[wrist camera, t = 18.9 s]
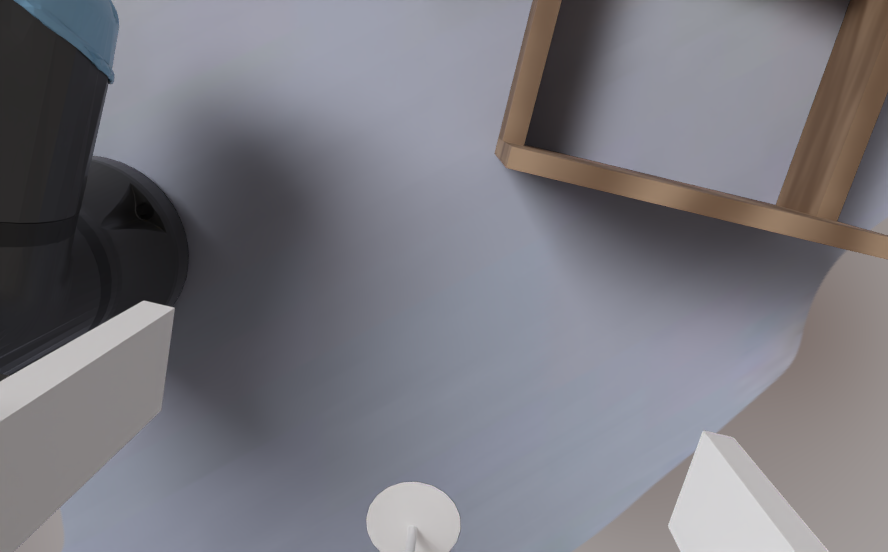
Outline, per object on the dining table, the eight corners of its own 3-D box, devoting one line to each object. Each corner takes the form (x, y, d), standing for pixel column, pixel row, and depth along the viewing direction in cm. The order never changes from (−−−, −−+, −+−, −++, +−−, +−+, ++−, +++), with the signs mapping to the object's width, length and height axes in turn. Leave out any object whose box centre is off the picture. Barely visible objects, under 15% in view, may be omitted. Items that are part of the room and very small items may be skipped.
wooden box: (494, 153, 50) (506, 168, 35) (572, -158, 45) (623, -291, 30) (788, 224, 50) (919, 267, 36) (899, -75, 45) (1106, -167, 31)
